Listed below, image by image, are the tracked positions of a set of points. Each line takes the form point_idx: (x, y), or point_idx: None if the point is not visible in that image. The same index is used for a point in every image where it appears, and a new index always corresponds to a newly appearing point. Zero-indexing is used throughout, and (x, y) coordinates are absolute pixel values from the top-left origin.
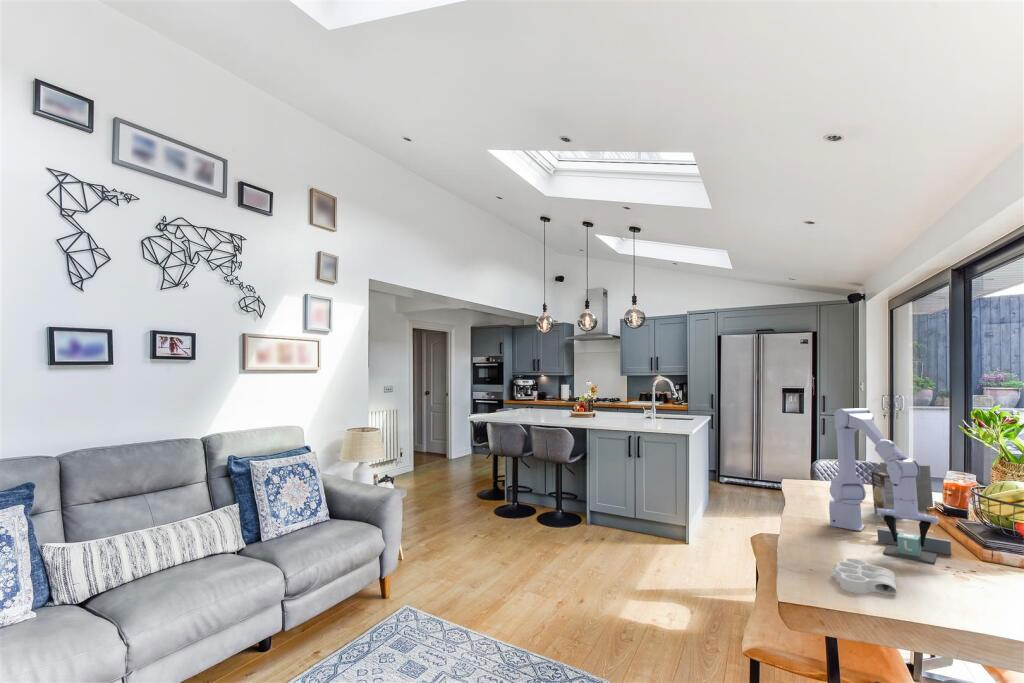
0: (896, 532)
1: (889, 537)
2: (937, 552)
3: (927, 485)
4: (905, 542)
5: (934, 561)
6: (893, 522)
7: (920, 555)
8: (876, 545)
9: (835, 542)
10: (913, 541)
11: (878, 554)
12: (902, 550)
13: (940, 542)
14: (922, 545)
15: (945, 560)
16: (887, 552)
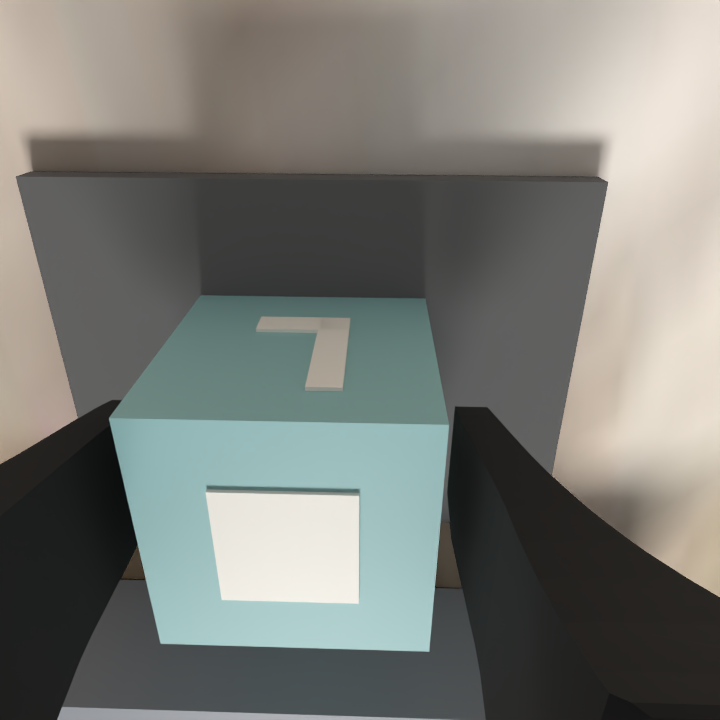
0: (468, 591)
1: None
2: (134, 580)
3: None
4: (323, 369)
5: (37, 242)
6: (581, 682)
7: None
8: (647, 477)
9: None
10: (196, 391)
11: (656, 133)
12: (378, 317)
13: None
14: (110, 406)
15: (11, 406)
16: (550, 217)
